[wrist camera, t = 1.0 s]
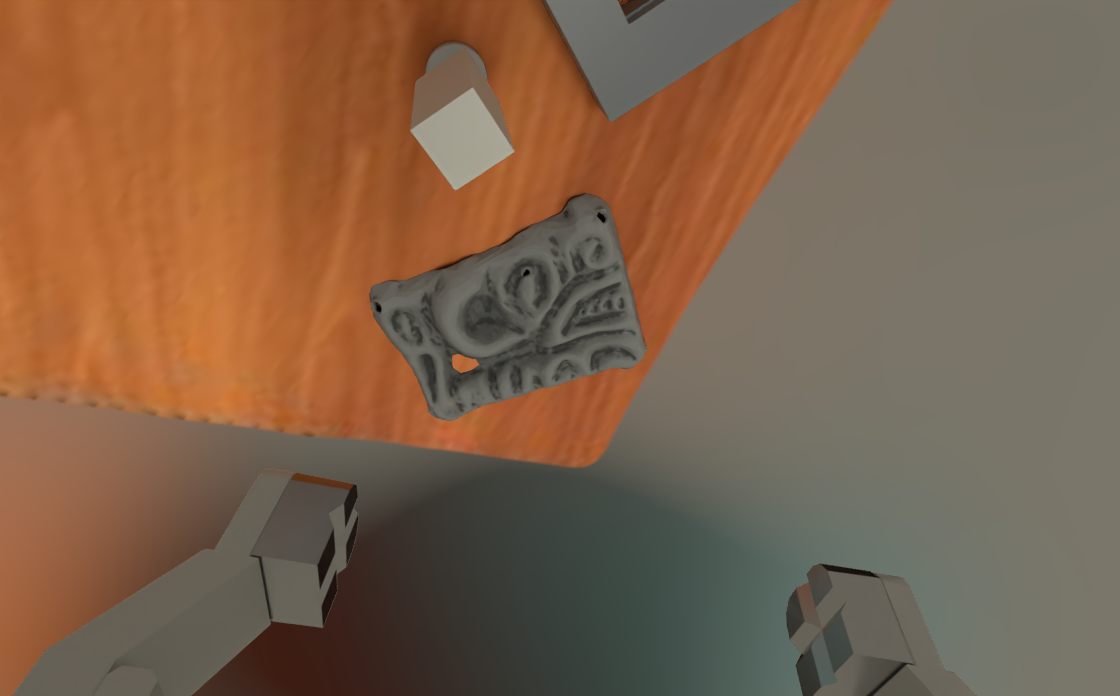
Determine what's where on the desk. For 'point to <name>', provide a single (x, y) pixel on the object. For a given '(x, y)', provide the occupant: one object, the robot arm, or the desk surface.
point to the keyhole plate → (650, 41)
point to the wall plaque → (518, 313)
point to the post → (459, 114)
